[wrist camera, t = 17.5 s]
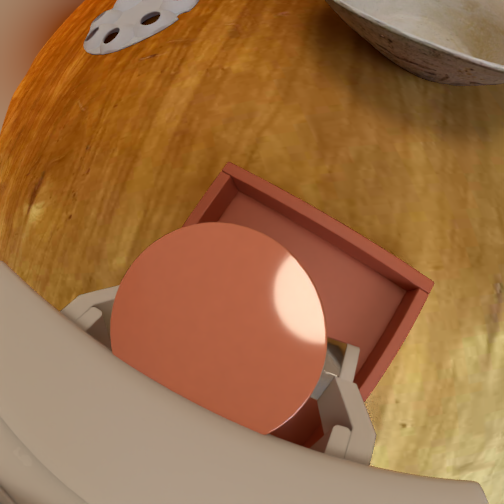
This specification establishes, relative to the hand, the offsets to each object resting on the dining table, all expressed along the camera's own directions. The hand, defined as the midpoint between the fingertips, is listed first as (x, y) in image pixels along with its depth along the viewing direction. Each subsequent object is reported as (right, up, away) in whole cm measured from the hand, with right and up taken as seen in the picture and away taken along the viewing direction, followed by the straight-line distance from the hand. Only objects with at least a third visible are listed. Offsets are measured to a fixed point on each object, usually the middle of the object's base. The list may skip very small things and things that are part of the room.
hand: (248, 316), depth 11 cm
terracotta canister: (+1, -2, +5) cm, 5 cm away
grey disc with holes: (-17, +38, +20) cm, 46 cm away
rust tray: (+1, -2, +8) cm, 8 cm away
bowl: (+18, +24, +11) cm, 32 cm away
